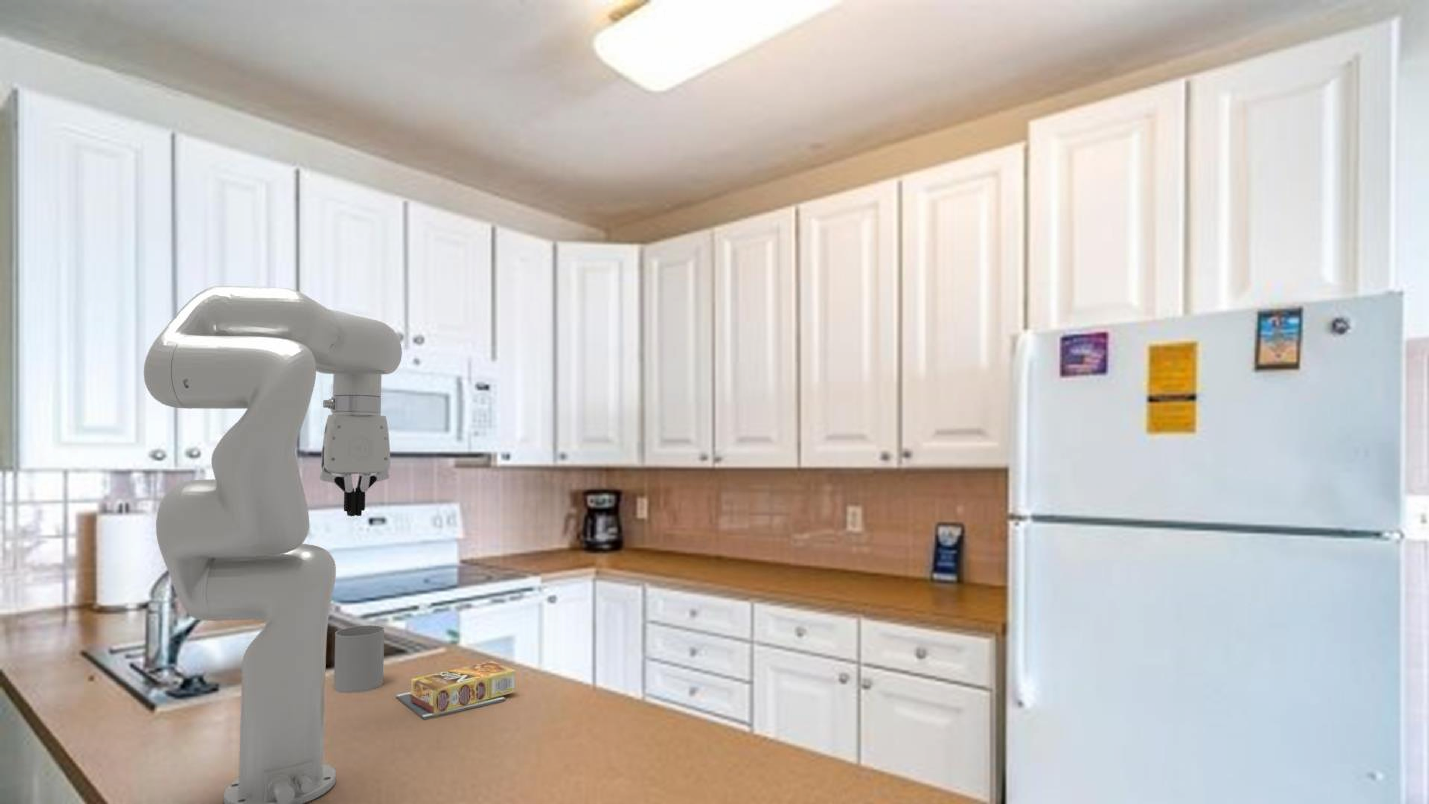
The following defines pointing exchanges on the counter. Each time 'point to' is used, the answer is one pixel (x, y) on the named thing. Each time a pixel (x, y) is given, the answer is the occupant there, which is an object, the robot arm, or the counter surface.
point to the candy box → (462, 686)
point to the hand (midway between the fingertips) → (354, 515)
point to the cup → (359, 658)
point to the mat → (427, 714)
